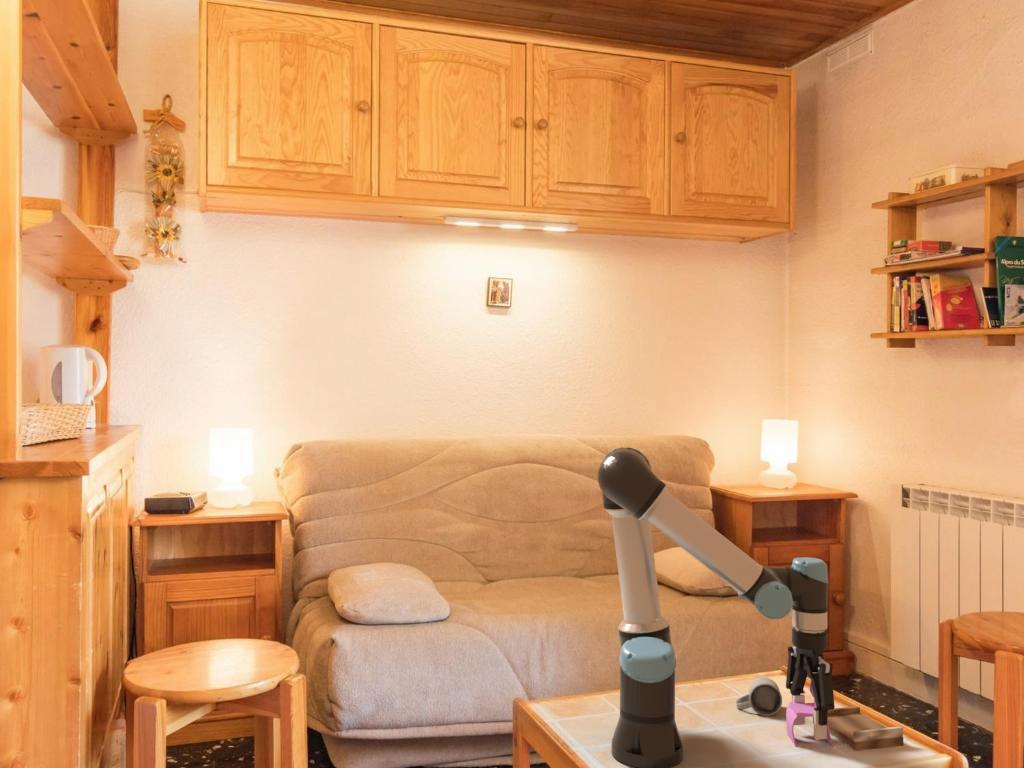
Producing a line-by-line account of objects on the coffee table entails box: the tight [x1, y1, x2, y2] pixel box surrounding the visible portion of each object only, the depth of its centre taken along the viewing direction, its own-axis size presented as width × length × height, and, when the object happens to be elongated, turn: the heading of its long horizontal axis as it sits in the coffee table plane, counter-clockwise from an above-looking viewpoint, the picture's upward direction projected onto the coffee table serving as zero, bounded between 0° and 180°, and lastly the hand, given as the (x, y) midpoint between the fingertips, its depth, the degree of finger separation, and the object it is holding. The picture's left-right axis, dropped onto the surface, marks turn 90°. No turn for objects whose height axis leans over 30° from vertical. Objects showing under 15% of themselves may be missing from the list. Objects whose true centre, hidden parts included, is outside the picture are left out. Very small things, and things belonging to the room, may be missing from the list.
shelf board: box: [812, 705, 904, 752], centre depth 199 cm, size 12×16×4 cm
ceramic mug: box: [735, 676, 783, 717], centre depth 214 cm, size 11×8×8 cm
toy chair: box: [785, 682, 834, 748], centre depth 195 cm, size 8×9×15 cm
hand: (809, 731), depth 195 cm, fingers closed on toy chair, 8 cm apart
